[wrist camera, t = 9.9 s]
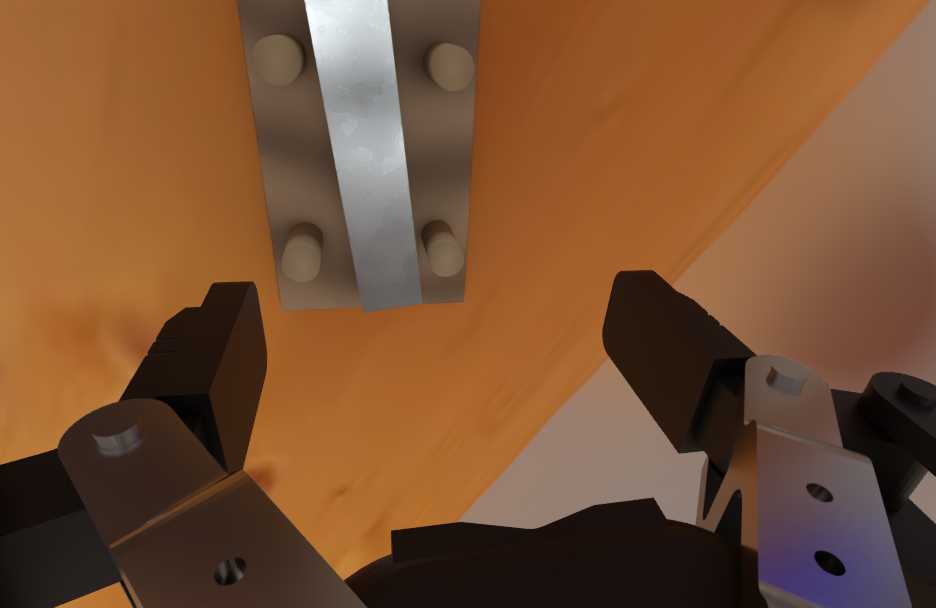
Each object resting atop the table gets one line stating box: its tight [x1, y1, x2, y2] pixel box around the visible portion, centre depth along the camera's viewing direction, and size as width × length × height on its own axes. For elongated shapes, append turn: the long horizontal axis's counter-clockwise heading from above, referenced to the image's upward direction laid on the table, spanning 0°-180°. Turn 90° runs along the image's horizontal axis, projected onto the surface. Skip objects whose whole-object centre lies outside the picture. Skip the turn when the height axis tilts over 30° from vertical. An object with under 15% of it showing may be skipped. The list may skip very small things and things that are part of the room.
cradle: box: [237, 0, 481, 311], centre depth 28 cm, size 20×12×5 cm, turn 177°
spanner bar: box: [305, 0, 423, 312], centre depth 27 cm, size 16×4×4 cm, turn 3°
